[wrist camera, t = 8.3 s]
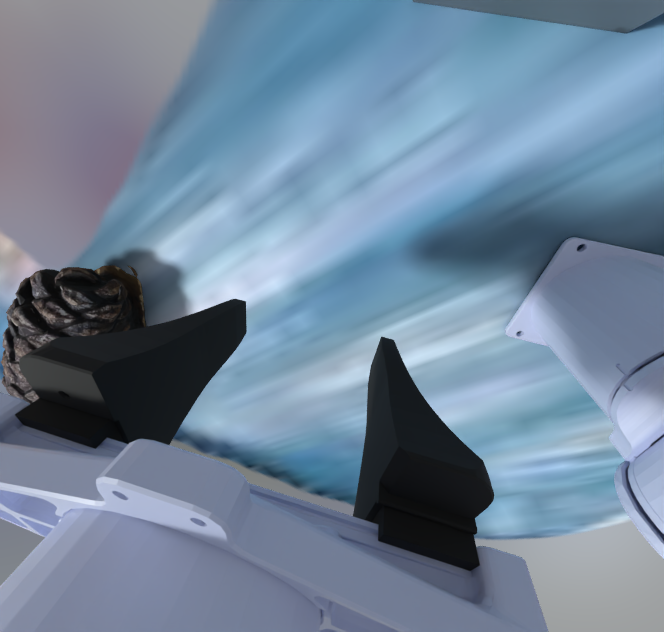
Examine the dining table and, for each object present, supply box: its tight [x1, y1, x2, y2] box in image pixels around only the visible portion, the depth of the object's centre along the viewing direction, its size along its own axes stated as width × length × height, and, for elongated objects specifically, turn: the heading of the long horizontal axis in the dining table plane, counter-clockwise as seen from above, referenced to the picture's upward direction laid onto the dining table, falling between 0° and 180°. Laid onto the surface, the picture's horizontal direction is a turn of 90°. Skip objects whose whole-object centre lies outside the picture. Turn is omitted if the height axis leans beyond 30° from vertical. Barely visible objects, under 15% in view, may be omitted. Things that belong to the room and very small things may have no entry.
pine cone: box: [1, 266, 146, 404], centre depth 26 cm, size 10×18×10 cm, turn 157°
